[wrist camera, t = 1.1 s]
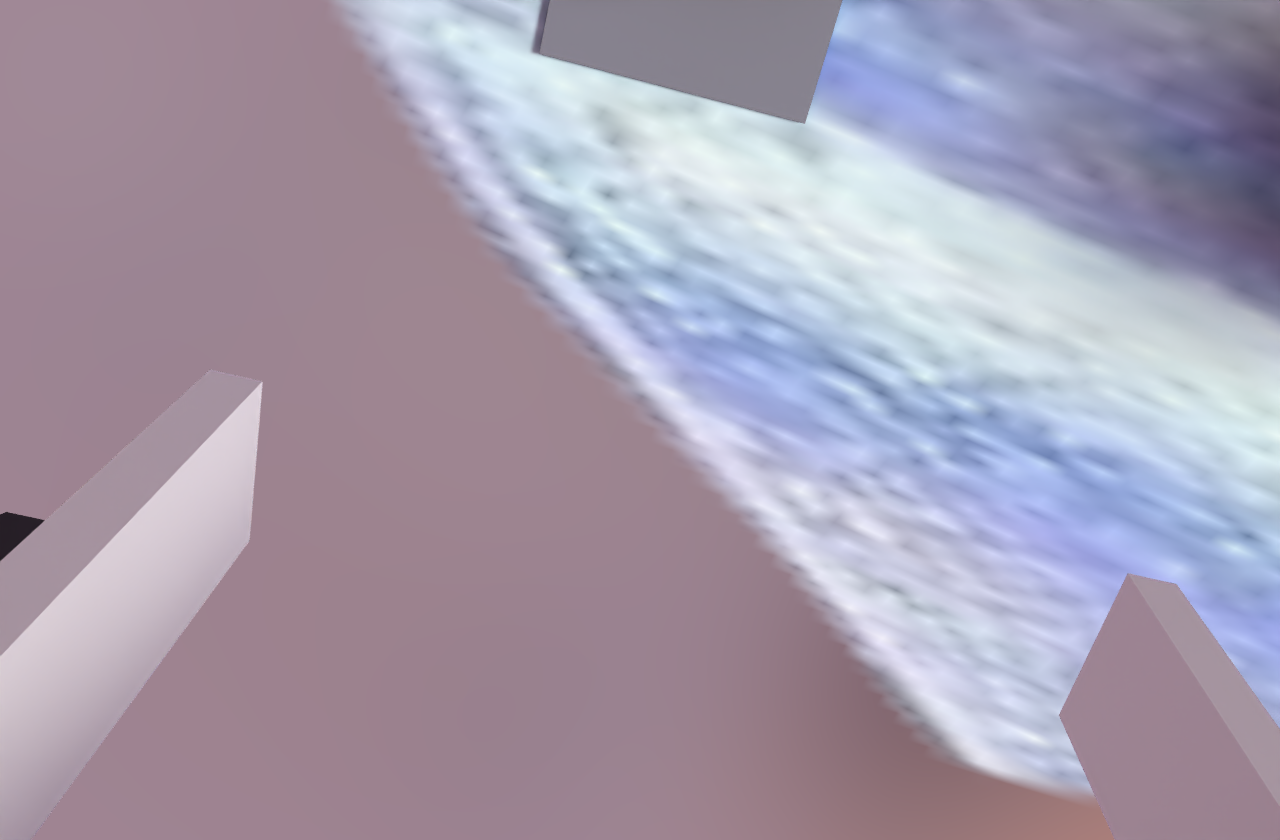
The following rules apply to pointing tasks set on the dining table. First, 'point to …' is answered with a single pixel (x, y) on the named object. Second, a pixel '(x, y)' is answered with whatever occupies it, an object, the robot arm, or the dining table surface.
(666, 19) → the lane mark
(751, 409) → the dining table surface
